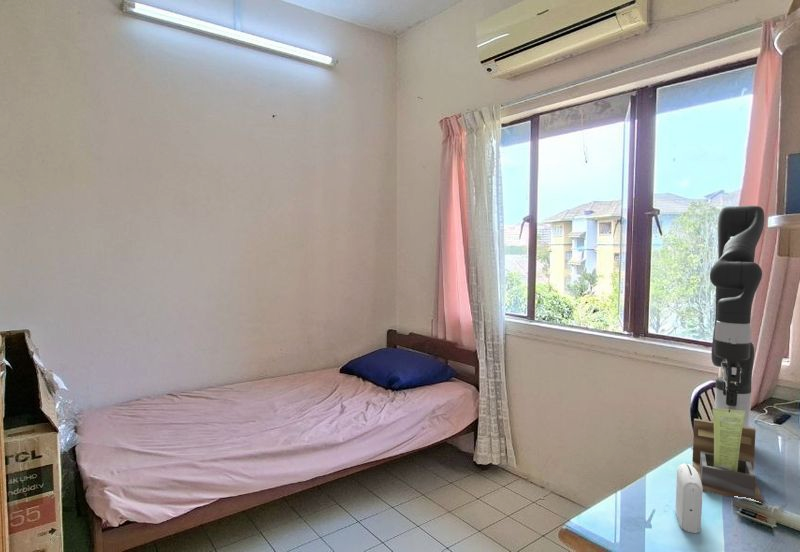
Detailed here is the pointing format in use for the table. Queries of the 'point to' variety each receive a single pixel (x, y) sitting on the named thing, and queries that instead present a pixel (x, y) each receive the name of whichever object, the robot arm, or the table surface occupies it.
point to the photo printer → (689, 498)
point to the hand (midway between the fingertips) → (729, 400)
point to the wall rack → (724, 479)
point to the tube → (727, 437)
